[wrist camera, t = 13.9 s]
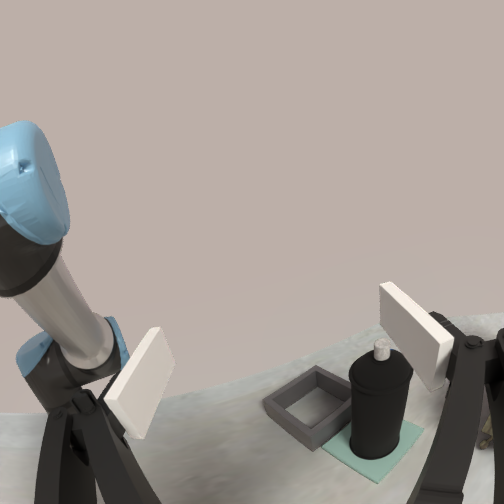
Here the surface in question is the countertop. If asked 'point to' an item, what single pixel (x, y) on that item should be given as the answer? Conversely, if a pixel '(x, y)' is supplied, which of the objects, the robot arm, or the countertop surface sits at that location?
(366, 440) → the aerosol can
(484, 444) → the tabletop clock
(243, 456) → the countertop surface
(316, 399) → the countertop surface
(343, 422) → the grey square tray
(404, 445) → the occupied pad
